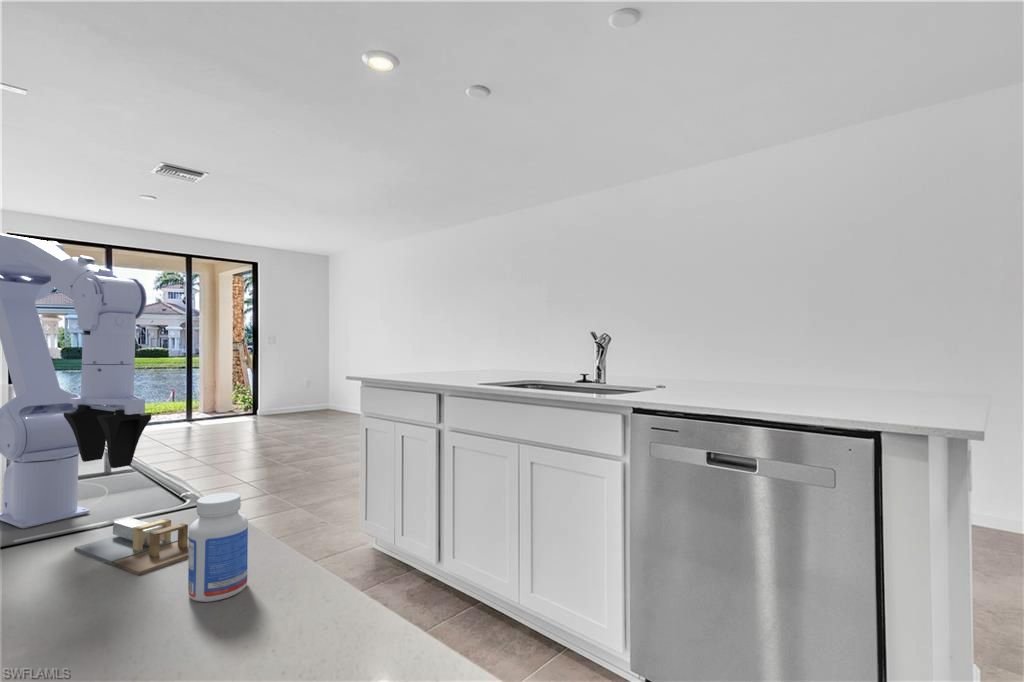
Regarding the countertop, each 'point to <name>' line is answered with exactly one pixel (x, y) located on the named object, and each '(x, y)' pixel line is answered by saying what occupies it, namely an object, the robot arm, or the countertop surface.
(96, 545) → the door
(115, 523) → the bolt
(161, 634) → the countertop surface
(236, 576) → the pill bottle
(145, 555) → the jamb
